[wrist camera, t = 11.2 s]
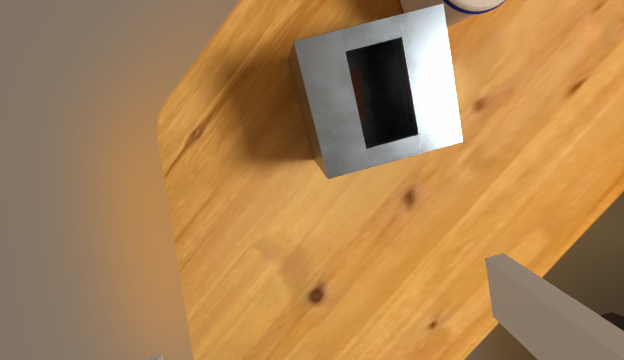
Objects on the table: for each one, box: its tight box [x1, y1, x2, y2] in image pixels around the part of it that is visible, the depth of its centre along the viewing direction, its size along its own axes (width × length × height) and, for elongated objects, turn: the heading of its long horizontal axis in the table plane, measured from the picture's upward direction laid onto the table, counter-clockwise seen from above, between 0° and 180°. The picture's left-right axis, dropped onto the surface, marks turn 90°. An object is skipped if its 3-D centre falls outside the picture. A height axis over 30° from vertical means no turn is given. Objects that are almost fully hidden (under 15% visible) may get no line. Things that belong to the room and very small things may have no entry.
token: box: [349, 69, 365, 121], centre depth 35 cm, size 2×6×6 cm
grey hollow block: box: [288, 4, 463, 179], centre depth 34 cm, size 13×12×11 cm
